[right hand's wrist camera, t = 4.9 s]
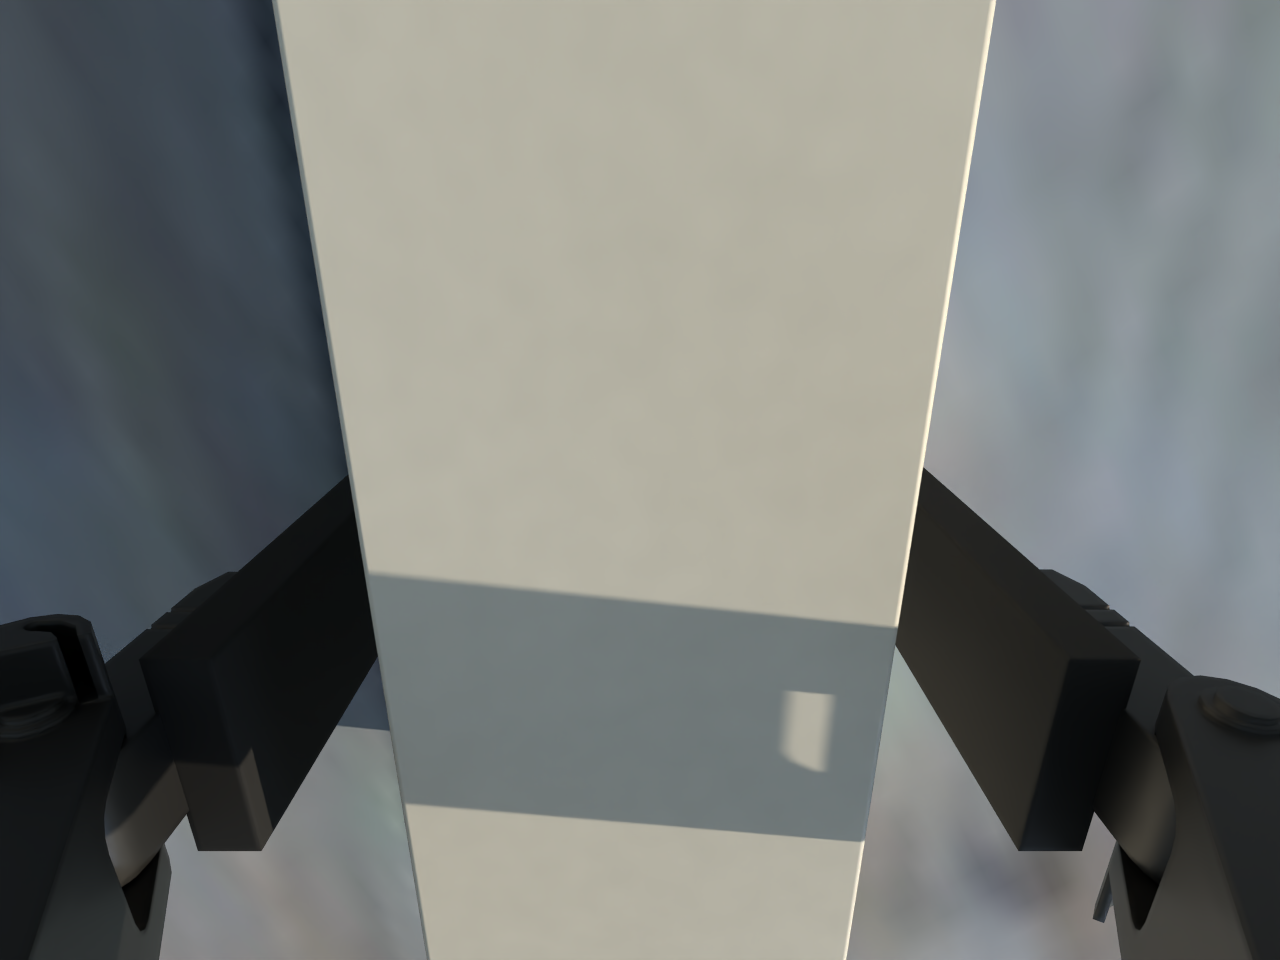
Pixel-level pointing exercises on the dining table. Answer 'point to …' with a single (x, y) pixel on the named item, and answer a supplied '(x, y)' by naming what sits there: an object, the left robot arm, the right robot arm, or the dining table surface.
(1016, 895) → the dining table surface
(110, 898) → the right robot arm
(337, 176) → the beam
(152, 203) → the dining table surface
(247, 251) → the dining table surface
